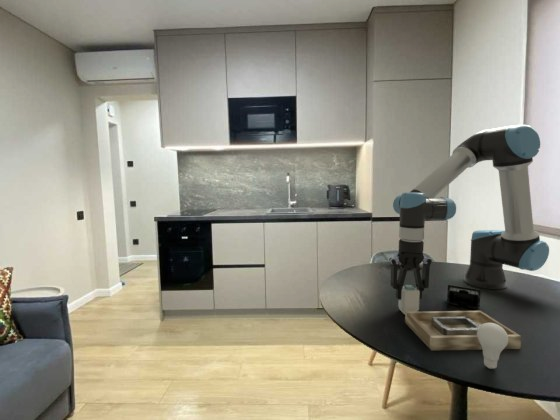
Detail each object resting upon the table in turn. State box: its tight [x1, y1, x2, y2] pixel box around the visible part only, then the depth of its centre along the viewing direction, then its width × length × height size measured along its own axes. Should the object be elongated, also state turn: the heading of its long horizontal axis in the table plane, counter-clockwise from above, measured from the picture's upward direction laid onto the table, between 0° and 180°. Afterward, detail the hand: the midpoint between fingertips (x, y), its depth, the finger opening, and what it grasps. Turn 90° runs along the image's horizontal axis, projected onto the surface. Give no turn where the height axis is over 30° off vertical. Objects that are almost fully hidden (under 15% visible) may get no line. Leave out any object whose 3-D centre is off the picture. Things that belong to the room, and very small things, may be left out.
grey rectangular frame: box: [431, 316, 480, 336], centre depth 91 cm, size 11×8×2 cm
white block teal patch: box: [398, 284, 420, 315], centre depth 105 cm, size 4×4×9 cm
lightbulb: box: [477, 323, 508, 370], centre depth 74 cm, size 6×6×11 cm
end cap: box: [446, 284, 482, 311], centre depth 111 cm, size 10×7×7 cm
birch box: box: [404, 310, 522, 351], centre depth 90 cm, size 24×16×4 cm, turn 92°
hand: (408, 308), depth 105 cm, fingers closed on white block teal patch, 4 cm apart
